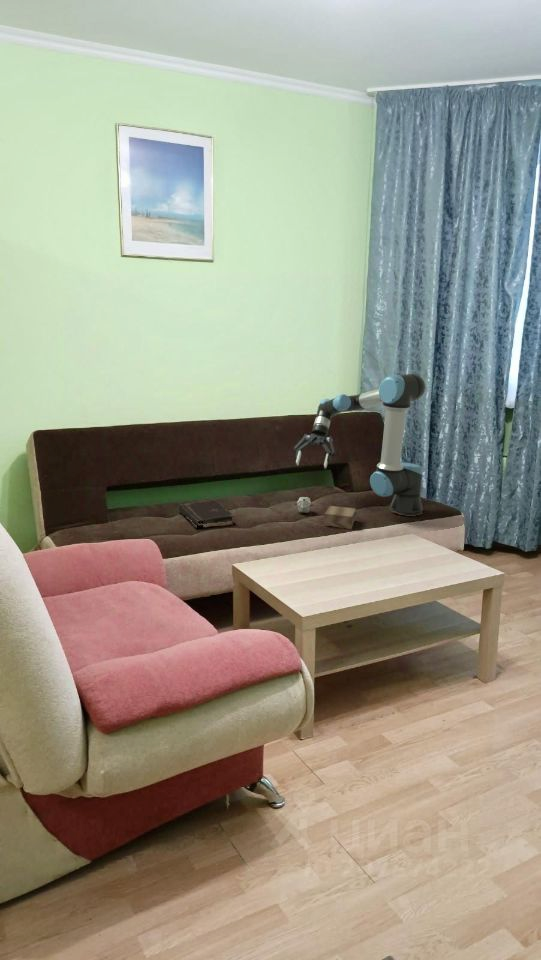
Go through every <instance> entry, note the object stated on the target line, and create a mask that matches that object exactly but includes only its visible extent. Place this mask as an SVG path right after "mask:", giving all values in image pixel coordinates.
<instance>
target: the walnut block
mask: <svg viewBox="0 0 541 960" xmlns="http://www.w3.org/2000/svg"><path fill="white" fill-rule="evenodd" d="M323 516H324V517H323V523H324V522H326V523H331V524H335V525H338V526H341V527H343V528H342V529H344V528H346V530H352V528H353V527H354V525H353V523H354V521H355V518H356V519H357V508H354V507H345V506H344V507H343V506H336V505H335V506H333V505H329V506H328V508H327V509H326V510H325V512H324V515H323ZM355 522H356V521H355ZM354 524H355V523H354ZM352 526H353V527H352Z"/></svg>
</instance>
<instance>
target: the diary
mask: <svg viewBox="0 0 541 960" xmlns="http://www.w3.org/2000/svg"><path fill="white" fill-rule="evenodd" d="M178 511H179V513H180V514H181V515H182V514H183V515H185V516H186V517H188V518H189V519H190V520H192V522H193V523H194V524H195V525H198V523H199V524H201V523H202V524H207V523H218V522H227V521H232V522H233V517H236V515H234V514H233V513H232V512H231V511H230V510H228V508H226V507H225V506H224V505H223V504H222V503H221V502H220V501H218V499H216V498H215V499H207V500H206V499H204V500H197V501H193V502H192V501H191V502H186V503H181V504H179V508H178ZM183 515H182V516H183Z"/></svg>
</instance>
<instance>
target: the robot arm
mask: <svg viewBox="0 0 541 960" xmlns="http://www.w3.org/2000/svg"><path fill="white" fill-rule="evenodd" d="M425 392H426V383H425V380H424V379H423V377H421V375H418V374H415V373H407V374H392V375H388V376H387V377H385V378H384V379H383V380H382V381H381V382H380V385H379V387H378V388H376V389H373V390H370V391H367V392H362V393H359V394H354V395H348V394H347V395H346V394H345V393H341V394H339V395H336V396H335V397H334V398H332V399H330V398H323V399H321V400H320V402H319V405H318V407H317V411H316V416H315V420H314V423H313V426H312V430H311V434H309V435H308V434H307V433H304V435H303V437H302V438H301V439H300V440H299V441H298V443H296V445H295V446H293V450H294V452H295V459H296V460H295V465H296V466H299V464H300V461H301V457H302V452H304V451H305V450H306V449H307V448H309V447H311V446H312V445H314V446H316V445H317V446H322V448H324V450H325V451H326V455H325V459H324V461H323V462H324V463H323V468H324V469H327V467H328V463H330V462H331V461H332V460H331V459H332V456H334V457H335V456H336V455H337V454H336V451H335V447H334V443H333V437H332V436H331V435H330V436H329V437H327V436H328V434H329V429H330V425H331V422H332V417H335V416H337V415H338V414H342V413H347V412H349V413H350V412H355V411H356V412H357V411H363V410H367V409H369V408H373V407H377V406H381V405H382V406H383V408H384V409H385V416H384V426H383V435H382V436H383V438H382V447H381V456H380V462H378V463H377V464H376V469H375V470H376V471H374V472H373V473H372V474H371V475H370V478H369V483H370V487H371V489H372V491H373V492H374V493H375V494H376V495H377V496H379V497H381V498H382V497H391V496H393V495H394V496H393V498H392V499H391V500H392V501H391V503H390V506H389V510H390V509H391V510H393V511H396V512H398V513H401V514H405V515H417V514H420V513H421V512H422V511H423V512H424V508H423V504H422V499H421V492H422V491H421V490H422V481H423V480H422V479H423V468H422V466H421V465H419V464H416V463H411V462H401V459H402V457H401V456H402V449H403V441H404V431H405V430H404V429H405V424H406V423H405V422H406V415H407V414H406V413H407V410H409V409H410V407H411V402H412V401H415V400H419V399H420V398H422V396H423V395H424V394H425ZM326 441H327V442H328V443H329V445H330V449H331V450H330V449H329V447H328V445H327V444H326Z"/></svg>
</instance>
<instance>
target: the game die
mask: <svg viewBox="0 0 541 960" xmlns="http://www.w3.org/2000/svg"><path fill="white" fill-rule="evenodd" d="M298 497H299V498H298V500H297V501H296V503H294V505H295V506H296V508H297V511H298V512H299V513H303V514H304V513H307V514H308V513H309V514H310V511H311V509H312V507H314V504H312V500H311V496H309V497H307V496H300V495H298Z"/></svg>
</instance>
